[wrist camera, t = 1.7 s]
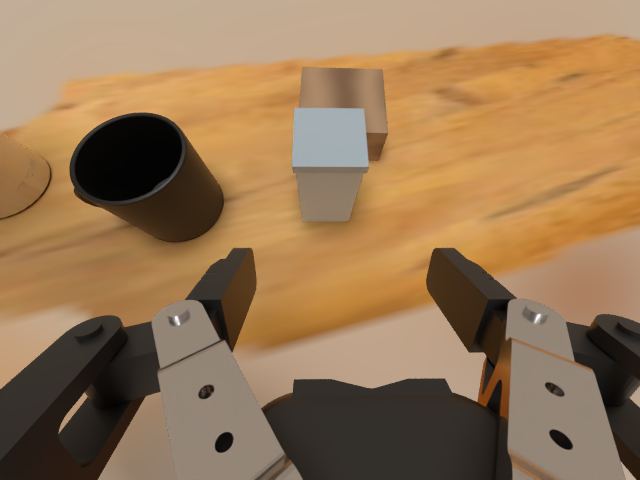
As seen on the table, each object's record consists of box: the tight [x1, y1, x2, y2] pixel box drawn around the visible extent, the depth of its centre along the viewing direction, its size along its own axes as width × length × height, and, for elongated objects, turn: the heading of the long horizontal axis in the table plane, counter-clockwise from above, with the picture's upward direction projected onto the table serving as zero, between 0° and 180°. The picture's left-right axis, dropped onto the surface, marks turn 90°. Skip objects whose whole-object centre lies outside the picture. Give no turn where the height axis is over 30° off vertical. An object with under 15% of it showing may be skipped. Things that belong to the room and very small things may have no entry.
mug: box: [70, 113, 223, 242], centre depth 24 cm, size 9×12×9 cm
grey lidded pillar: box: [292, 108, 369, 222], centre depth 24 cm, size 6×6×11 cm
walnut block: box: [299, 67, 388, 161], centre depth 31 cm, size 10×10×5 cm
